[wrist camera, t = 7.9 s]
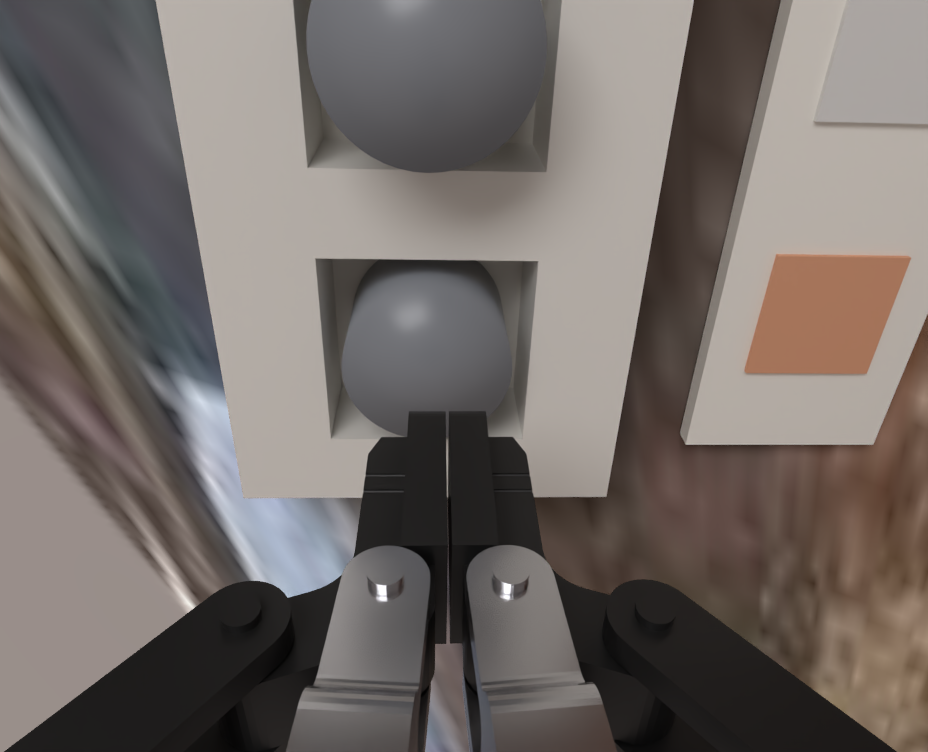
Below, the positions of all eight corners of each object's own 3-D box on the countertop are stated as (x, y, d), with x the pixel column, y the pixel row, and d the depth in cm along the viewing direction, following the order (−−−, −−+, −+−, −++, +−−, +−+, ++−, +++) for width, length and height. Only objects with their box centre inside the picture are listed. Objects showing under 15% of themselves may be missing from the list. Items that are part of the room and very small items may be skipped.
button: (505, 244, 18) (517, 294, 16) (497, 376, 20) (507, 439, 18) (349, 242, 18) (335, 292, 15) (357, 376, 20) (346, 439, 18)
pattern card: (1356, -797, 11) (1416, -843, 10) (863, 433, 23) (875, 447, 22) (975, -831, 10) (1010, -882, 10) (679, 433, 22) (687, 447, 22)
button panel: (775, -849, 10) (889, -1112, 8) (586, 433, 22) (606, 496, 20) (69, -914, 10) (-59, -1216, 7) (265, 432, 22) (243, 498, 19)
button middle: (534, -82, 13) (558, -86, 11) (519, 136, 15) (536, 174, 13) (321, -89, 13) (295, -96, 11) (335, 132, 15) (316, 170, 13)
